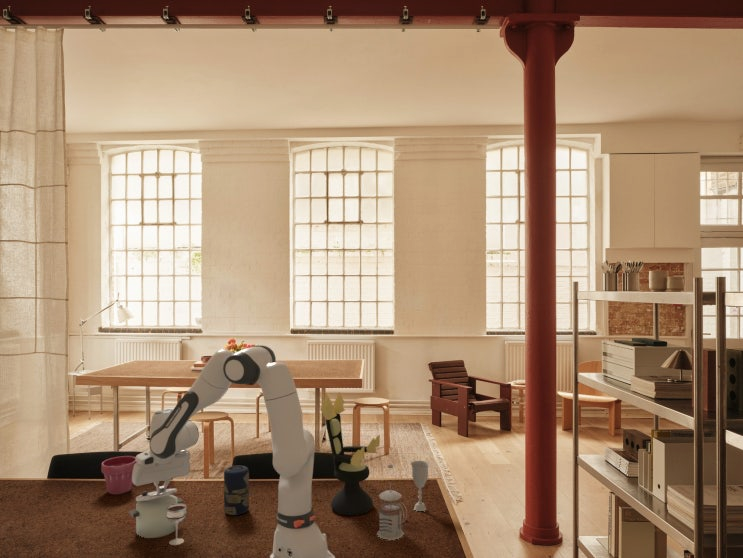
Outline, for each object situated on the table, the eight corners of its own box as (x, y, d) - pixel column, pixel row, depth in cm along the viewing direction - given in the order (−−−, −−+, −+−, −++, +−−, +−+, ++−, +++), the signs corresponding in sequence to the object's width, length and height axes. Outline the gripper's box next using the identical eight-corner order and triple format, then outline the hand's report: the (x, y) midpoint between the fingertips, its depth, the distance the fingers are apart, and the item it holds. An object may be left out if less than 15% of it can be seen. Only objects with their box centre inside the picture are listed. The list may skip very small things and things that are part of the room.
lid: (182, 492, 205) (182, 485, 205) (143, 502, 196) (142, 495, 196) (169, 490, 215) (168, 484, 215) (130, 500, 206) (130, 493, 206)
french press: (387, 525, 208) (387, 457, 208) (413, 534, 200) (413, 464, 200) (370, 535, 200) (370, 464, 200) (397, 544, 193) (397, 471, 193)
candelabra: (365, 521, 211) (364, 401, 211) (311, 513, 218) (310, 397, 218) (380, 502, 229) (380, 391, 229) (330, 495, 236) (330, 388, 236)
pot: (188, 528, 206) (188, 501, 206) (138, 543, 194) (137, 514, 194) (174, 516, 216) (174, 490, 216) (125, 529, 205) (125, 502, 205)
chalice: (408, 510, 221) (407, 464, 221) (414, 504, 227) (414, 459, 227) (425, 514, 217) (425, 467, 217) (431, 507, 223) (431, 462, 223)
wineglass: (189, 536, 199) (189, 503, 199) (183, 546, 192) (183, 511, 192) (169, 537, 199) (169, 503, 199) (163, 546, 192) (163, 511, 192)
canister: (242, 518, 215) (242, 470, 214) (219, 515, 216) (219, 469, 216) (253, 507, 224) (252, 462, 224) (230, 506, 226) (230, 461, 226)
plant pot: (101, 487, 246) (101, 458, 246) (136, 482, 252) (136, 453, 252) (101, 499, 233) (101, 468, 233) (138, 493, 239) (137, 463, 239)
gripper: (186, 446, 214) (185, 482, 214) (131, 456, 201) (129, 495, 201) (193, 451, 209) (192, 488, 210) (136, 462, 196) (135, 501, 196)
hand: (161, 491), depth 205 cm, fingers closed, pressing on lid
